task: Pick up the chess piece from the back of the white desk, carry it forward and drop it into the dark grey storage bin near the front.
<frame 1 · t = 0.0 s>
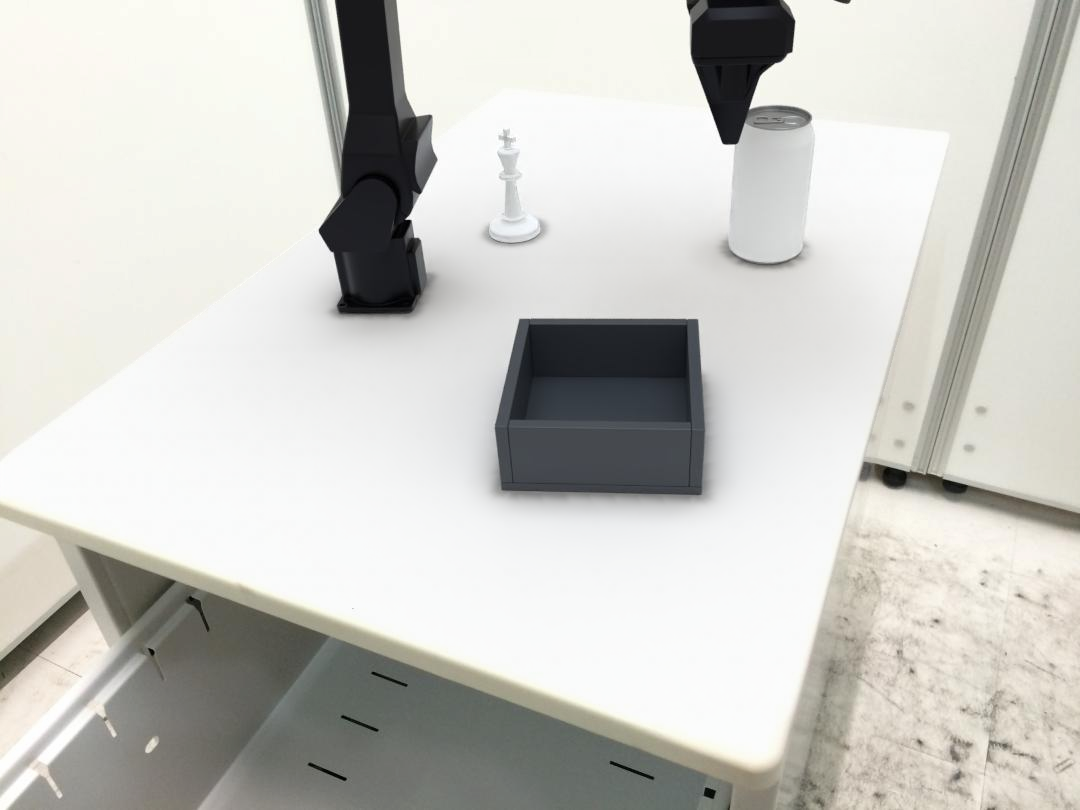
hand: (726, 120, 69), 15 cm above the table, tool pointing down, fingers open, 9 cm apart
dark grey storage bin: (604, 430, 64), on the table
chess piece: (515, 233, 90), on the table
can: (764, 250, 84), on the table
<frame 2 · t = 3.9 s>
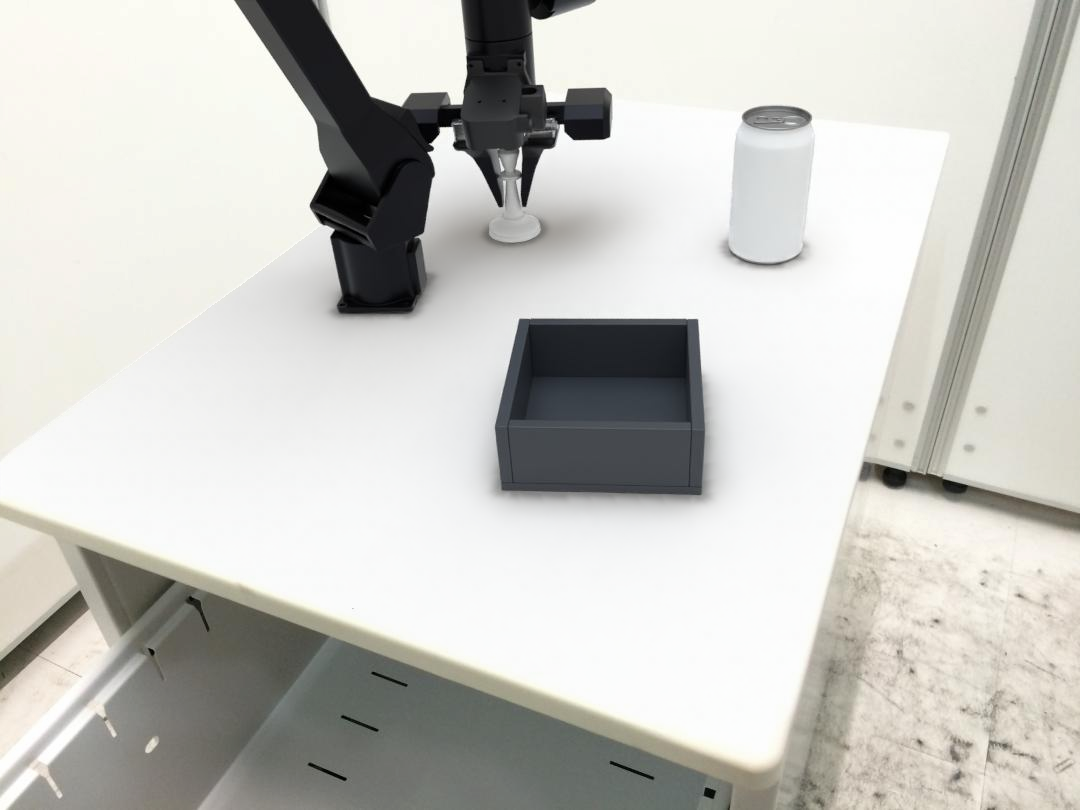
hand: (512, 205, 88), 3 cm above the table, tool pointing down, fingers closed on chess piece
chess piece: (515, 233, 90), on the table, touching gripper
everything else where it was.
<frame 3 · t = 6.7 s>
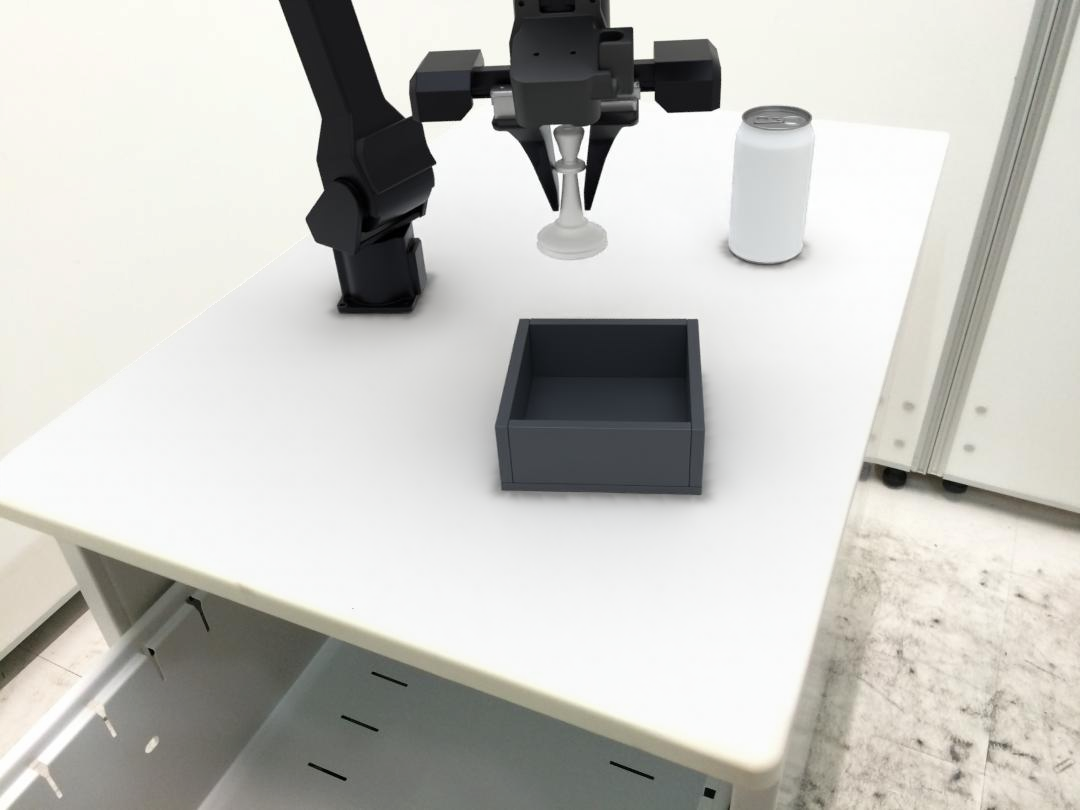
hand: (571, 208, 63), 13 cm above the table, tool pointing down, fingers closed on chess piece
chess piece: (572, 246, 65), point 10 cm above the table, touching gripper
everything else where it was.
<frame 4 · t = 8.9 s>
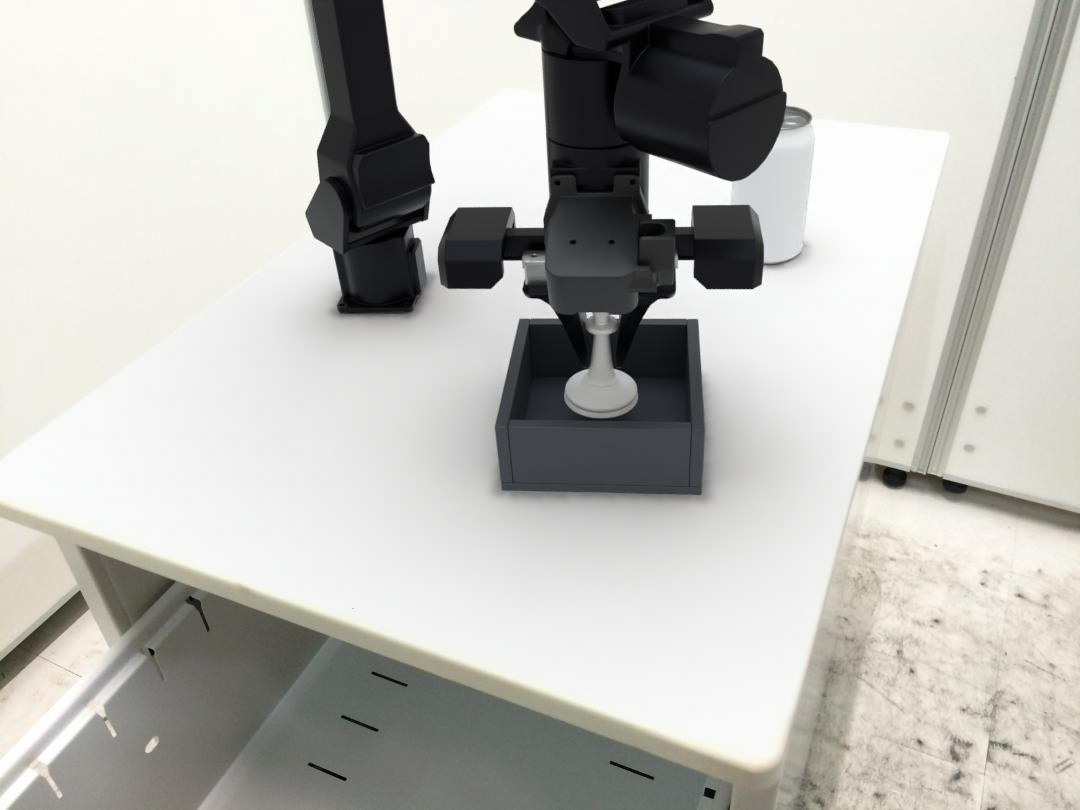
hand: (602, 364, 61), 5 cm above the table, tool pointing down, fingers closed on chess piece
chess piece: (601, 398, 63), point 3 cm above the table, touching gripper
everything else where it was.
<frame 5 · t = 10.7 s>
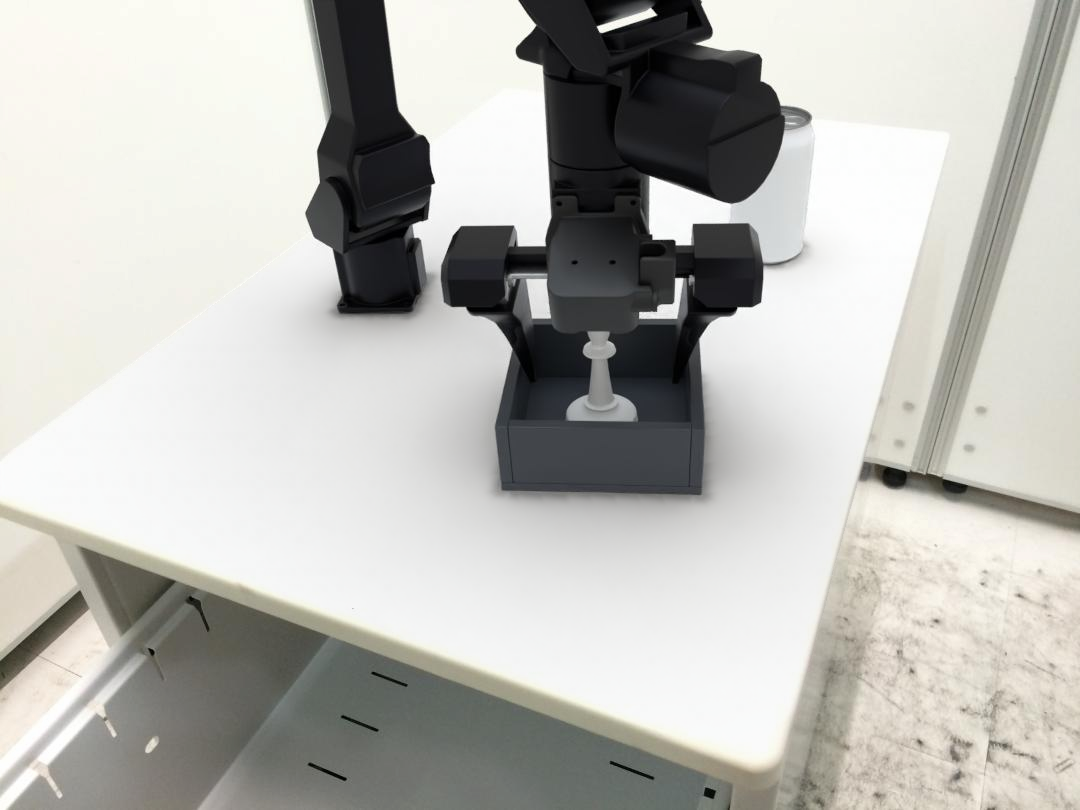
hand: (603, 380, 62), 4 cm above the table, tool pointing down, fingers open, 9 cm apart
chess piece: (601, 423, 64), point 1 cm above the table, touching dark grey storage bin
everything else where it was.
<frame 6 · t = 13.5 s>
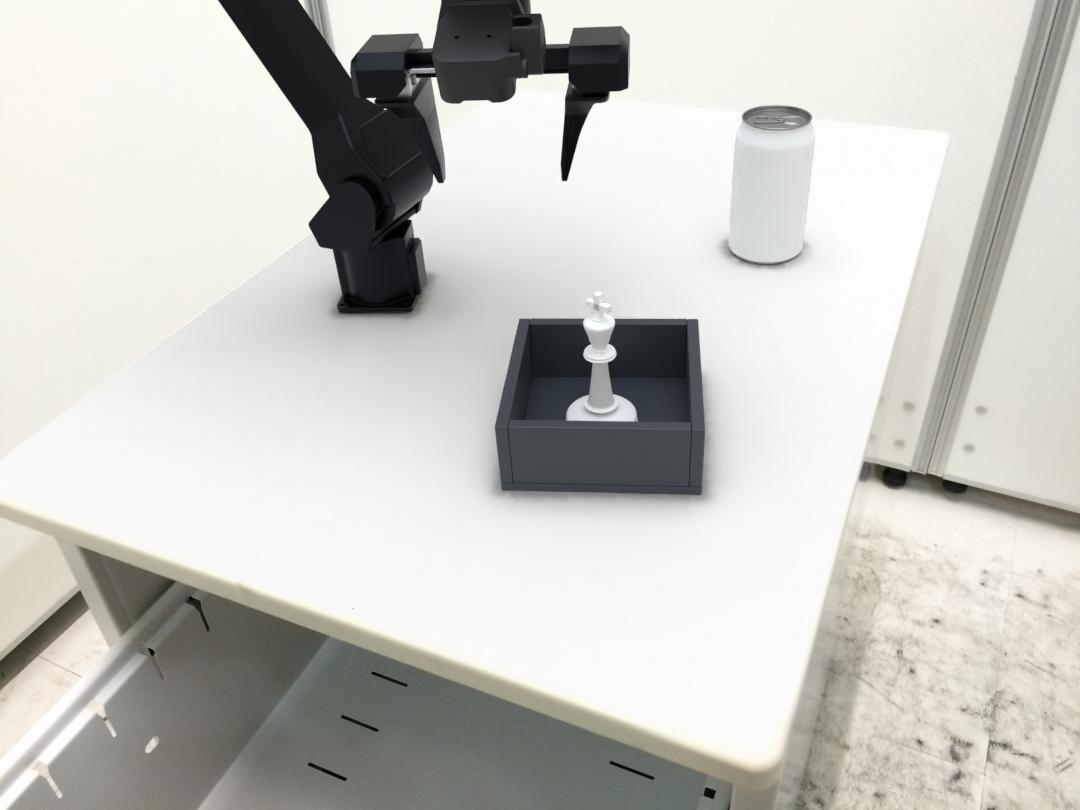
hand: (503, 180, 70), 12 cm above the table, tool pointing down, fingers open, 9 cm apart
nothing on the table moved.
at the end: chess piece inside the target area in the dark grey storage bin (0.2 cm from its centre), point 0.4 cm above the dark grey storage bin's base; the gripper is holding nothing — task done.
